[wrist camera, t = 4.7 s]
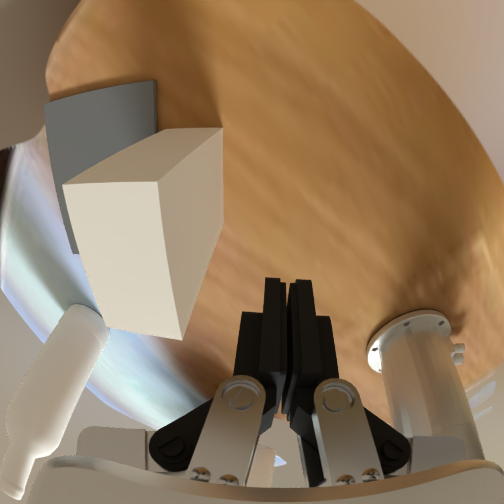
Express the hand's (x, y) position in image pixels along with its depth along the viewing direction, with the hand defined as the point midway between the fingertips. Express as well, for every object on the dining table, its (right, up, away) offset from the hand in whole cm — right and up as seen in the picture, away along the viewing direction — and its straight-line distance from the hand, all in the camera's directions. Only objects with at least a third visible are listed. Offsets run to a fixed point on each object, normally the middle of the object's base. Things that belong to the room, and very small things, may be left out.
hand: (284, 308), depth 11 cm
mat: (-16, +9, +14) cm, 24 cm away
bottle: (-26, -8, +27) cm, 38 cm away
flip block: (-6, +9, +14) cm, 18 cm away
